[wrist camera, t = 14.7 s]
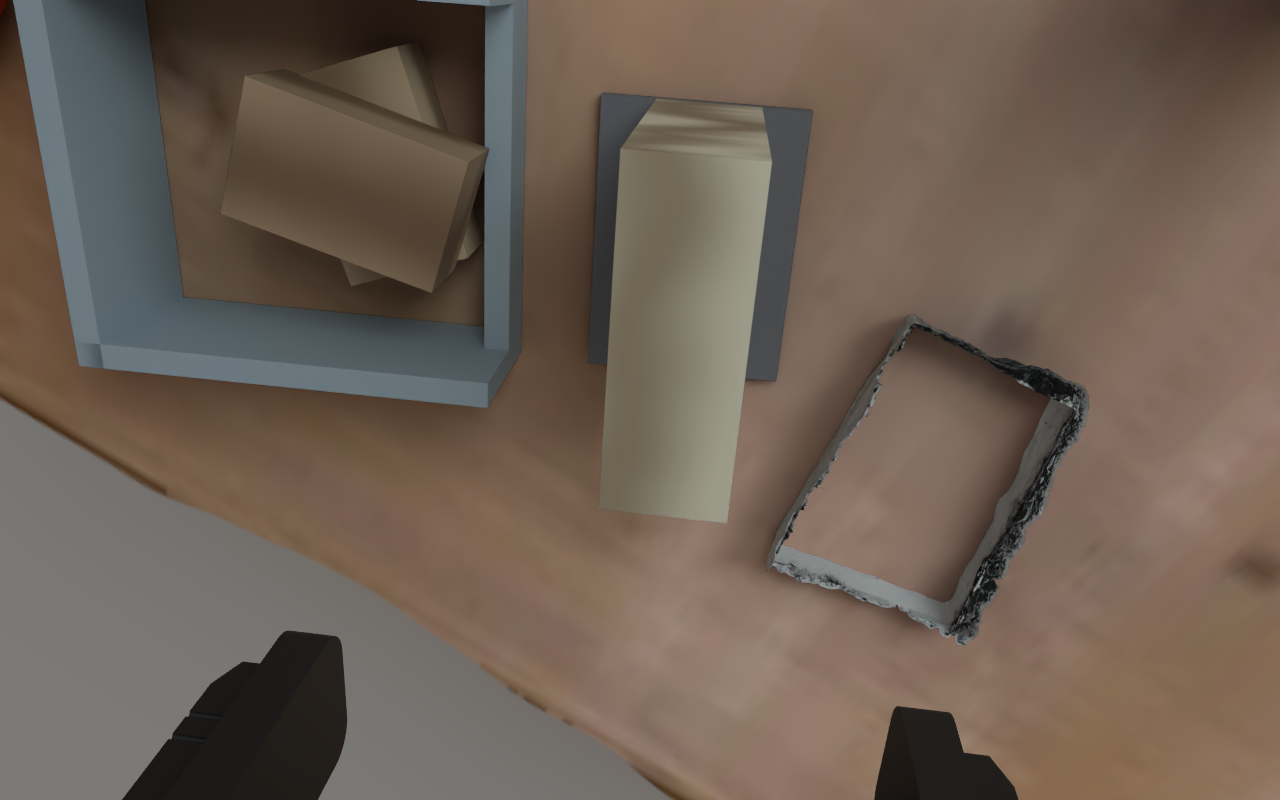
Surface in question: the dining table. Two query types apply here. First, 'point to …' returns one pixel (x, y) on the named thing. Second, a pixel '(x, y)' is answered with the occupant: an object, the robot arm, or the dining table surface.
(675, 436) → the beige hardcover book
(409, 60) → the offcut block lower
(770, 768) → the dining table surface
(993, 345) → the dining table surface
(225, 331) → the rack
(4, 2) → the tomato
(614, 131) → the mat
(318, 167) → the offcut block upper
